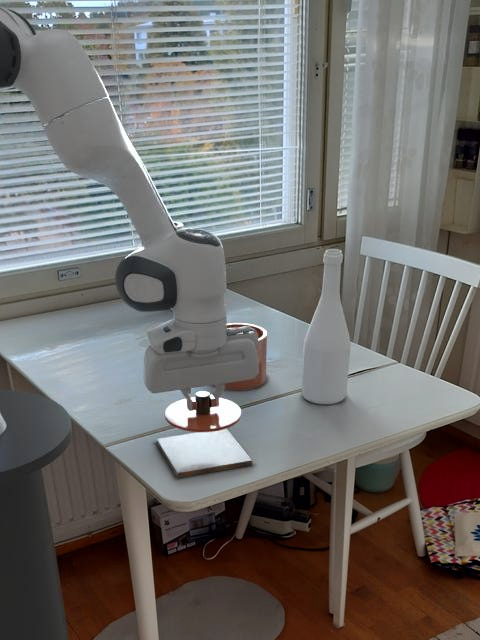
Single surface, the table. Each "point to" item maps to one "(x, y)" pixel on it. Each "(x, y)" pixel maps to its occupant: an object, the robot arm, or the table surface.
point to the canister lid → (203, 414)
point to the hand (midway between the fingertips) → (202, 407)
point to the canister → (261, 355)
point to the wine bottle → (327, 341)
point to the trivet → (203, 452)
